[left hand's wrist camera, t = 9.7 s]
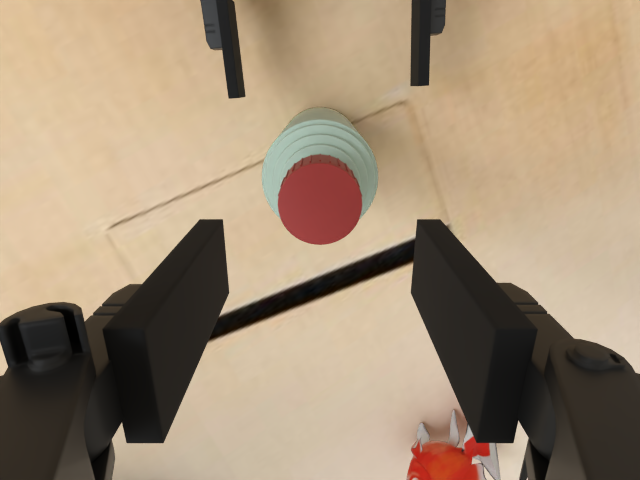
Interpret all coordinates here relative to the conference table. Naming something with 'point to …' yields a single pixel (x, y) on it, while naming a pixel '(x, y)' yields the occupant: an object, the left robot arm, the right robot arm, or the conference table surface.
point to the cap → (320, 200)
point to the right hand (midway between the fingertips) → (327, 92)
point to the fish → (452, 457)
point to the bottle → (320, 152)
